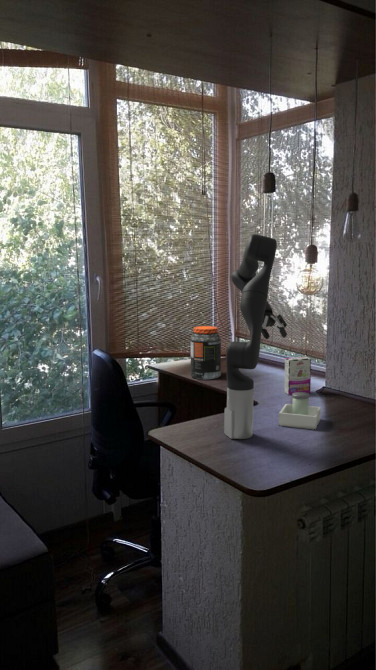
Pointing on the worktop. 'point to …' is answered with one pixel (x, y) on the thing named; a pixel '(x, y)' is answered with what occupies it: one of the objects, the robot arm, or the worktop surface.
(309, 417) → the tray
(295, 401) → the jar
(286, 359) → the candy bar box
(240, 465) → the worktop surface
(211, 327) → the supplement tub
